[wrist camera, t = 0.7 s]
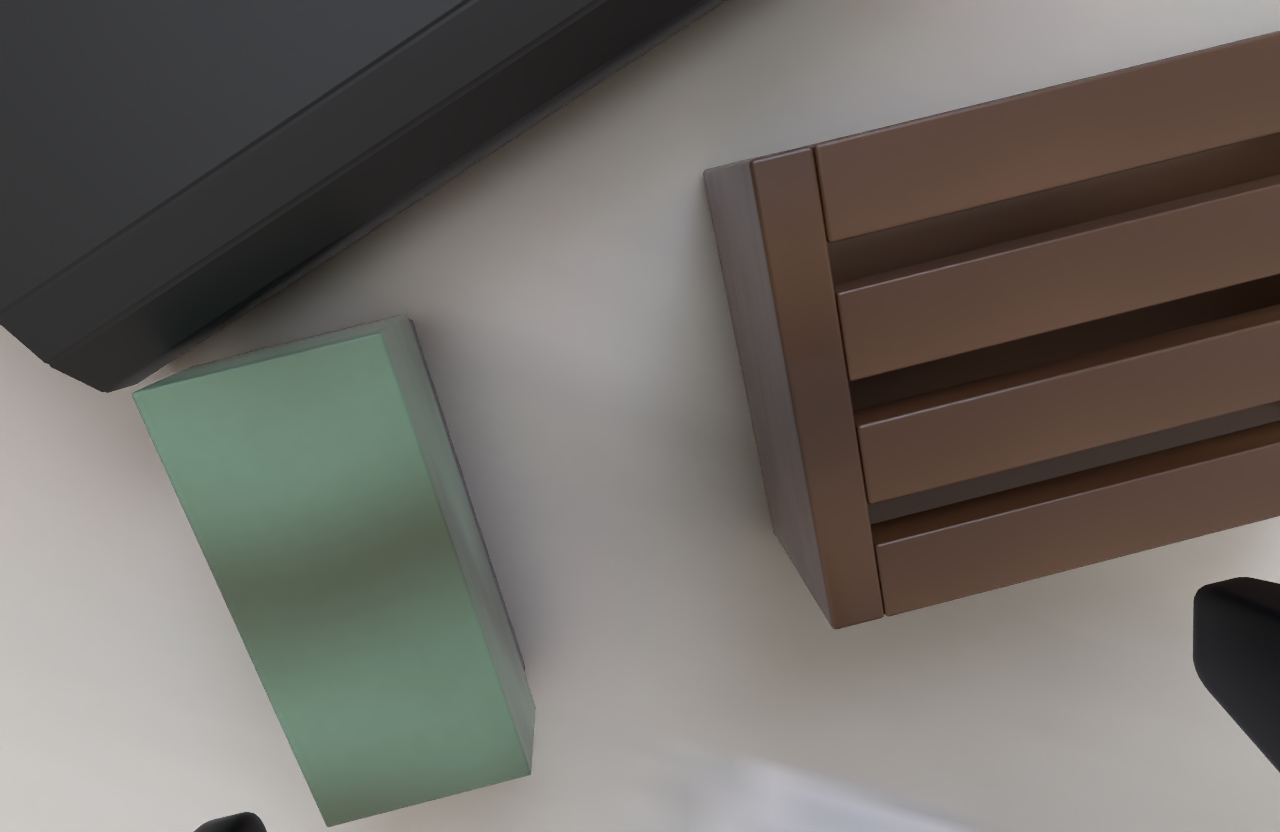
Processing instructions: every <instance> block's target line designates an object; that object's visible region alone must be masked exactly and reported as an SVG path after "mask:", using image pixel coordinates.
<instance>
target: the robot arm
mask: <svg viewBox="0 0 1280 832" xmlns="http://www.w3.org/2000/svg"><path fill="white" fill-rule="evenodd" d="M1193 661H1194V665H1195V669H1196V671H1197V674H1198V676H1199V678H1200V680H1201V681H1202V683H1203V684H1204V686H1205V687H1206V688H1207V690H1208V691H1209V692H1210V693H1211V694H1212V696H1213V697H1214V698H1215V699H1216V700H1217V701H1218V702H1219V704H1220V705H1221V706H1222V707H1223V708H1224V709H1225V710H1226V712H1227V713H1228V714H1229V715H1230V716H1231V717H1232V718H1233V720H1234V721H1235V722H1236V723H1237V724H1238V725H1239V726H1240V728H1241V729H1242V730H1243V731H1244V732H1245V733H1246V734H1247V736H1248V737H1249V738H1250V739H1251V740H1252V741H1253V742H1254V744H1255V745H1256V746H1257V747H1258V748H1259V749H1260V750H1261V752H1262V753H1263V754H1264V755H1265V756H1266V757H1267V758H1268V760H1269V761H1270V762H1271V763H1272V764H1273V765H1274V766H1275V768H1276V769H1277V770H1278V771H1279V772H1280V584H1278V583H1273V582H1268V581H1264V580H1259V579H1255V578H1249V577H1238V578H1233V579H1229V580H1225V581H1220V582H1216V583H1212V584H1208V585H1205V586H1203V587H1202V588H1200V589H1199V590H1198V591H1197V593H1196V595H1195V597H1194V611H1193ZM194 832H267V831H266V829H265V826H264V824H263V822H262V821H261V819H260V818H259V817H258V816H257V815H256V814H254V813H250V812H244V813H239V814H235V815H231V816H227V817H222V818H218V819H214V820H211V821H208V822H206V823H204V824H203V825H201V826H200V827H199V828H198V829H196V830H195V831H194Z"/></svg>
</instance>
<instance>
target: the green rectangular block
mask: <svg viewBox="0 0 1280 832" xmlns="http://www.w3.org/2000/svg"><path fill="white" fill-rule="evenodd" d="M132 397H133V399H134V401H135V403H136V405H137V408H138V410H139V412H140V414H141V416H142V419H143V421H144V423H145V425H146V428H147V430H148V432H149V434H150V436H151V439H152V441H153V443H154V445H155V447H156V450H157V452H158V454H159V456H160V458H161V461H162V463H163V465H164V467H165V470H166V472H167V474H168V476H169V478H170V481H171V483H172V485H173V487H174V489H175V492H176V494H177V496H178V498H179V501H180V503H181V505H182V507H183V509H184V512H185V514H186V516H187V518H188V520H189V523H190V525H191V527H192V529H193V532H194V534H195V536H196V538H197V540H198V543H199V545H200V547H201V549H202V551H203V554H204V556H205V558H206V560H207V562H208V565H209V567H210V569H211V571H212V574H213V576H214V578H215V580H216V582H217V585H218V587H219V589H220V591H221V593H222V596H223V598H224V600H225V602H226V605H227V607H228V609H229V611H230V613H231V616H232V618H233V620H234V622H235V624H236V627H237V629H238V631H239V633H240V635H241V638H242V640H243V642H244V644H245V647H246V649H247V651H248V653H249V655H250V658H251V660H252V662H253V664H254V666H255V669H256V671H257V673H258V675H259V678H260V680H261V682H262V684H263V686H264V689H265V691H266V693H267V695H268V697H269V700H270V702H271V704H272V706H273V708H274V711H275V713H276V715H277V717H278V720H279V722H280V724H281V726H282V728H283V731H284V733H285V735H286V737H287V739H288V742H289V744H290V746H291V748H292V751H293V753H294V755H295V757H296V759H297V762H298V764H299V766H300V768H301V770H302V773H303V775H304V777H305V779H306V781H307V784H308V786H309V788H310V790H311V793H312V795H313V797H314V799H315V801H316V804H317V806H318V808H319V810H320V812H321V815H322V817H323V819H324V821H325V824H326V826H327V827H331V826H335V825H339V824H343V823H346V822H350V821H354V820H358V819H362V818H366V817H370V816H373V815H377V814H381V813H385V812H389V811H393V810H397V809H400V808H404V807H408V806H412V805H416V804H420V803H424V802H427V801H431V800H435V799H439V798H443V797H447V796H450V795H454V794H458V793H462V792H466V791H470V790H474V789H477V788H481V787H485V786H489V785H493V784H497V783H501V782H504V781H508V780H512V779H516V778H520V777H524V776H528V775H530V774H531V767H532V752H533V737H534V722H535V708H536V707H535V704H534V701H533V698H532V695H531V692H530V689H529V686H528V682H527V679H526V676H525V673H524V672H525V666H524V663H523V660H522V657H521V654H520V651H519V647H518V644H517V641H516V638H515V635H514V632H513V629H512V626H511V623H510V620H509V617H508V614H507V611H506V608H505V604H504V601H503V598H502V595H501V592H500V589H499V586H498V583H497V580H496V577H495V574H494V571H493V568H492V565H491V561H490V558H489V555H488V552H487V549H486V546H485V543H484V540H483V537H482V534H481V531H480V528H479V525H478V522H477V518H476V515H475V512H474V509H473V506H472V503H471V500H470V497H469V494H468V491H467V488H466V485H465V482H464V479H463V475H462V472H461V469H460V466H459V463H458V460H457V457H456V454H455V451H454V448H453V445H452V442H451V439H450V436H449V432H448V429H447V426H446V423H445V420H444V417H443V414H442V411H441V408H440V405H439V402H438V399H437V396H436V393H435V390H434V386H433V383H432V380H431V377H430V374H429V371H428V368H427V365H426V362H425V359H424V356H423V353H422V350H421V347H420V343H419V340H418V337H417V334H416V331H415V328H414V325H413V322H412V320H409V318H408V316H407V315H406V314H403V315H399V316H395V317H391V318H387V319H383V320H379V321H375V322H371V323H366V324H362V325H358V326H354V327H350V328H346V329H342V330H338V331H334V332H330V333H326V334H322V335H318V336H313V337H309V338H305V339H301V340H297V341H293V342H289V343H285V344H281V345H277V346H273V347H269V348H265V349H261V350H256V351H252V352H248V353H244V354H240V355H236V356H232V357H228V358H224V359H220V360H216V361H212V362H208V363H203V364H199V365H195V366H192V367H190V368H188V369H185V370H183V371H181V372H179V373H176V374H174V375H172V376H169V377H167V378H165V379H163V380H160V381H158V382H156V383H154V384H151V385H149V386H147V387H145V388H142V389H140V390H138V391H136V392H134V393H133V394H132Z"/></svg>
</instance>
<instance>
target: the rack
mask: <svg viewBox="0 0 1280 832" xmlns="http://www.w3.org/2000/svg"><path fill="white" fill-rule="evenodd" d="M703 175H704V180H705V185H706V190H707V195H708V200H709V205H710V211H711V216H712V221H713V226H714V231H715V236H716V241H717V246H718V251H719V256H720V261H721V266H722V272H723V277H724V282H725V287H726V292H727V297H728V302H729V307H730V312H731V317H732V322H733V327H734V333H735V338H736V343H737V348H738V353H739V358H740V363H741V368H742V373H743V378H744V383H745V388H746V393H747V399H748V404H749V409H750V414H751V419H752V424H753V429H754V434H755V439H756V444H757V449H758V454H759V460H760V465H761V470H762V475H763V480H764V485H765V490H766V495H767V500H768V505H769V510H770V515H771V521H772V526H773V531H774V534H775V535H776V537H777V538H778V540H779V542H780V543H781V545H782V547H783V548H784V550H785V551H786V553H787V555H788V556H789V558H790V560H791V561H792V563H793V565H794V566H795V568H796V569H797V571H798V573H799V574H800V576H801V578H802V579H803V581H804V583H805V584H806V586H807V587H808V589H809V591H810V592H811V594H812V596H813V597H814V599H815V600H816V602H817V604H818V605H819V607H820V609H821V610H822V612H823V614H824V615H825V617H826V618H827V620H828V622H829V623H830V625H831V627H832V628H833V629H840V628H844V627H848V626H852V625H856V624H860V623H863V622H867V621H871V620H875V619H879V618H882V617H884V614H885V615H886V616H892V615H896V614H900V613H904V612H908V611H912V610H916V609H920V608H923V607H927V606H931V605H935V604H939V603H943V602H947V601H951V600H954V599H958V598H962V597H966V596H970V595H974V594H978V593H982V592H986V591H989V590H993V589H997V588H1001V587H1005V586H1009V585H1013V584H1017V583H1021V582H1024V581H1028V580H1032V579H1036V578H1040V577H1044V576H1048V575H1052V574H1055V573H1059V572H1063V571H1067V570H1071V569H1075V568H1079V567H1083V566H1087V565H1090V564H1094V563H1098V562H1102V561H1106V560H1110V559H1114V558H1118V557H1121V556H1125V555H1129V554H1133V553H1137V552H1141V551H1145V550H1149V549H1153V548H1156V547H1160V546H1164V545H1168V544H1172V543H1176V542H1180V541H1184V540H1188V539H1191V538H1195V537H1199V536H1203V535H1207V534H1211V533H1215V532H1219V531H1222V530H1226V529H1230V528H1234V527H1238V526H1242V525H1246V524H1250V523H1254V522H1257V521H1261V520H1265V519H1269V518H1273V517H1277V516H1280V31H1277V32H1273V33H1269V34H1265V35H1261V36H1256V37H1252V38H1248V39H1244V40H1240V41H1236V42H1232V43H1228V44H1224V45H1219V46H1215V47H1211V48H1207V49H1203V50H1199V51H1195V52H1191V53H1187V54H1182V55H1178V56H1174V57H1170V58H1166V59H1162V60H1158V61H1154V62H1150V63H1145V64H1141V65H1137V66H1133V67H1129V68H1125V69H1121V70H1117V71H1113V72H1108V73H1104V74H1100V75H1096V76H1092V77H1088V78H1084V79H1080V80H1076V81H1071V82H1067V83H1063V84H1059V85H1055V86H1051V87H1047V88H1043V89H1039V90H1034V91H1030V92H1026V93H1022V94H1018V95H1014V96H1010V97H1006V98H1002V99H998V100H993V101H989V102H985V103H981V104H977V105H973V106H969V107H965V108H961V109H956V110H952V111H948V112H944V113H940V114H936V115H932V116H928V117H924V118H919V119H915V120H911V121H907V122H903V123H899V124H895V125H891V126H887V127H882V128H878V129H874V130H870V131H866V132H862V133H858V134H854V135H850V136H845V137H841V138H837V139H833V140H829V141H825V142H821V143H817V144H813V145H808V146H804V147H801V148H796V149H792V150H787V151H783V152H778V153H774V154H770V155H765V156H761V157H756V158H752V159H747V160H743V161H739V162H735V163H731V164H727V165H723V166H718V167H714V168H710V169H706V170H705V171H704V174H703Z"/></svg>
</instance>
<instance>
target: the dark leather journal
mask: <svg viewBox="0 0 1280 832" xmlns="http://www.w3.org/2000/svg"><path fill="white" fill-rule="evenodd" d="M724 1H726V0H0V324H1V325H2V326H3V327H4V328H5V329H7V330H8V331H9V332H10V333H11V334H12V335H13V336H15V337H16V338H17V339H18V340H19V341H20V342H21V343H23V344H24V345H25V346H26V347H27V348H28V349H30V350H31V351H32V352H33V353H34V354H35V355H36V356H38V357H39V358H40V359H41V360H42V361H43V362H44V363H47V364H49V365H50V366H51V367H52V368H54V369H56V370H58V371H60V372H62V373H64V374H66V375H69V376H71V377H73V378H75V379H77V380H79V381H81V382H83V383H85V384H87V385H89V386H91V387H93V388H95V389H97V390H99V391H101V392H107V393H108V392H112V391H115V390H118V389H121V388H125V387H128V386H131V385H134V384H137V383H139V382H140V381H142V380H143V379H145V378H146V377H148V376H149V375H151V374H153V373H154V372H156V371H157V370H159V369H160V368H162V367H163V366H165V365H166V364H168V363H169V362H171V361H172V360H174V359H176V358H177V357H179V356H180V355H182V354H183V353H185V352H186V351H188V350H189V349H191V348H192V347H194V346H196V345H197V344H199V343H200V342H202V341H203V340H205V339H206V338H208V337H209V336H211V335H212V334H214V333H216V332H217V331H219V330H220V329H222V328H223V327H225V326H226V325H228V324H229V323H231V322H232V321H234V320H235V319H237V318H239V317H240V316H242V315H243V314H245V313H246V312H248V311H249V310H251V309H252V308H254V307H255V306H257V305H259V304H260V303H262V302H263V301H265V300H266V299H268V298H269V297H271V296H272V295H274V294H275V293H277V292H279V291H280V290H282V289H283V288H285V287H286V286H288V285H289V284H291V283H292V282H294V281H295V280H297V279H299V278H300V277H302V276H303V275H305V274H306V273H308V272H309V271H311V270H312V269H314V268H315V267H317V266H318V265H320V264H322V263H323V262H325V261H326V260H328V259H329V258H331V257H332V256H334V255H335V254H337V253H338V252H340V251H342V250H343V249H345V248H346V247H348V246H349V245H351V244H352V243H354V242H355V241H357V240H358V239H360V238H362V237H363V236H365V235H366V234H368V233H369V232H371V231H372V230H374V229H375V228H377V227H378V226H380V225H381V224H383V223H385V222H386V221H388V220H389V219H391V218H392V217H394V216H395V215H397V214H398V213H400V212H401V211H403V210H405V209H406V208H408V207H409V206H411V205H412V204H414V203H415V202H417V201H418V200H420V199H421V198H423V197H425V196H426V195H428V194H429V193H431V192H432V191H434V190H435V189H437V188H438V187H440V186H441V185H443V184H444V183H446V182H448V181H449V180H451V179H452V178H454V177H455V176H457V175H458V174H460V173H461V172H463V171H464V170H466V169H468V168H469V167H471V166H472V165H474V164H475V163H477V162H478V161H480V160H481V159H483V158H484V157H486V156H487V155H489V154H491V153H492V152H494V151H495V150H497V149H498V148H500V147H501V146H503V145H504V144H506V143H507V142H509V141H511V140H512V139H514V138H515V137H517V136H518V135H520V134H521V133H523V132H524V131H526V130H527V129H529V128H531V127H532V126H534V125H535V124H537V123H538V122H540V121H541V120H543V119H544V118H546V117H547V116H549V115H550V114H552V113H554V112H555V111H557V110H558V109H560V108H561V107H563V106H564V105H566V104H567V103H569V102H570V101H572V100H574V99H575V98H577V97H578V96H580V95H581V94H583V93H584V92H586V91H587V90H589V89H590V88H592V87H594V86H595V85H597V84H598V83H600V82H601V81H603V80H604V79H606V78H607V77H609V76H610V75H612V74H613V73H615V72H617V71H618V70H620V69H621V68H623V67H624V66H626V65H627V64H629V63H630V62H632V61H633V60H635V59H637V58H638V57H640V56H641V55H643V54H644V53H646V52H647V51H649V50H650V49H652V48H653V47H655V46H657V45H658V44H660V43H661V42H663V41H664V40H666V39H667V38H669V37H670V36H672V35H673V34H675V33H676V32H678V31H680V30H681V29H683V28H684V27H686V26H687V25H689V24H690V23H692V22H693V21H695V20H696V19H698V18H700V17H701V16H703V15H704V14H706V13H707V12H709V11H710V10H712V9H713V8H715V7H716V6H718V5H720V4H721V3H723V2H724Z"/></svg>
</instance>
